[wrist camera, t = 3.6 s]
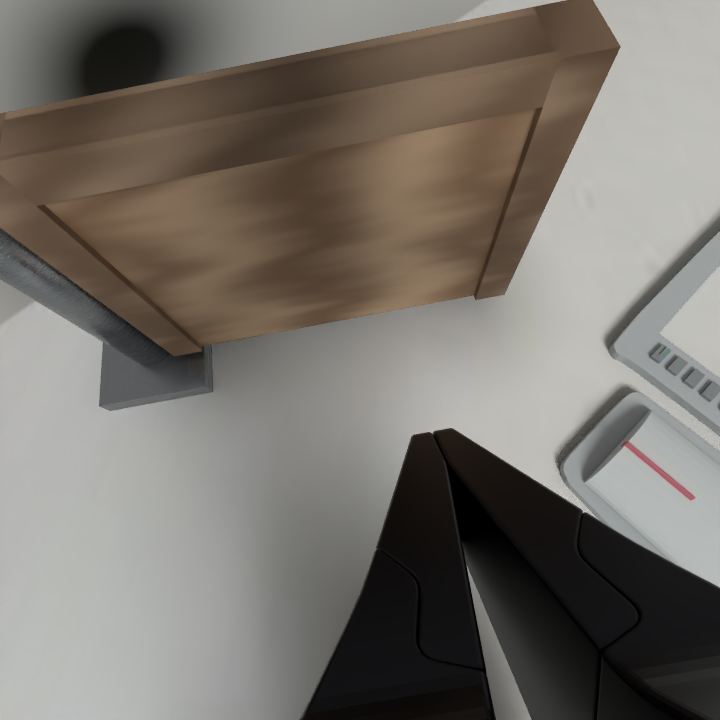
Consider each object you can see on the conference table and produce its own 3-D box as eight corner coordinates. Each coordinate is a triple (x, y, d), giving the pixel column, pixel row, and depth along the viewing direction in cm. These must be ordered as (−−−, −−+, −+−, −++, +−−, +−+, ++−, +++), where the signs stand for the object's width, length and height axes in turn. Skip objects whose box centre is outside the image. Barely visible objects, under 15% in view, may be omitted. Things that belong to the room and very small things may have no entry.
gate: (174, 356, 24) (-63, 181, 11) (173, 321, 24) (-48, 122, 12) (504, 294, 23) (620, 46, 11) (493, 260, 24) (590, -5, 12)
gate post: (110, 410, 24) (-344, 235, 9) (115, 318, 26) (-247, 57, 12) (212, 391, 24) (-83, 183, 9) (209, 300, 26) (-36, 13, 12)
